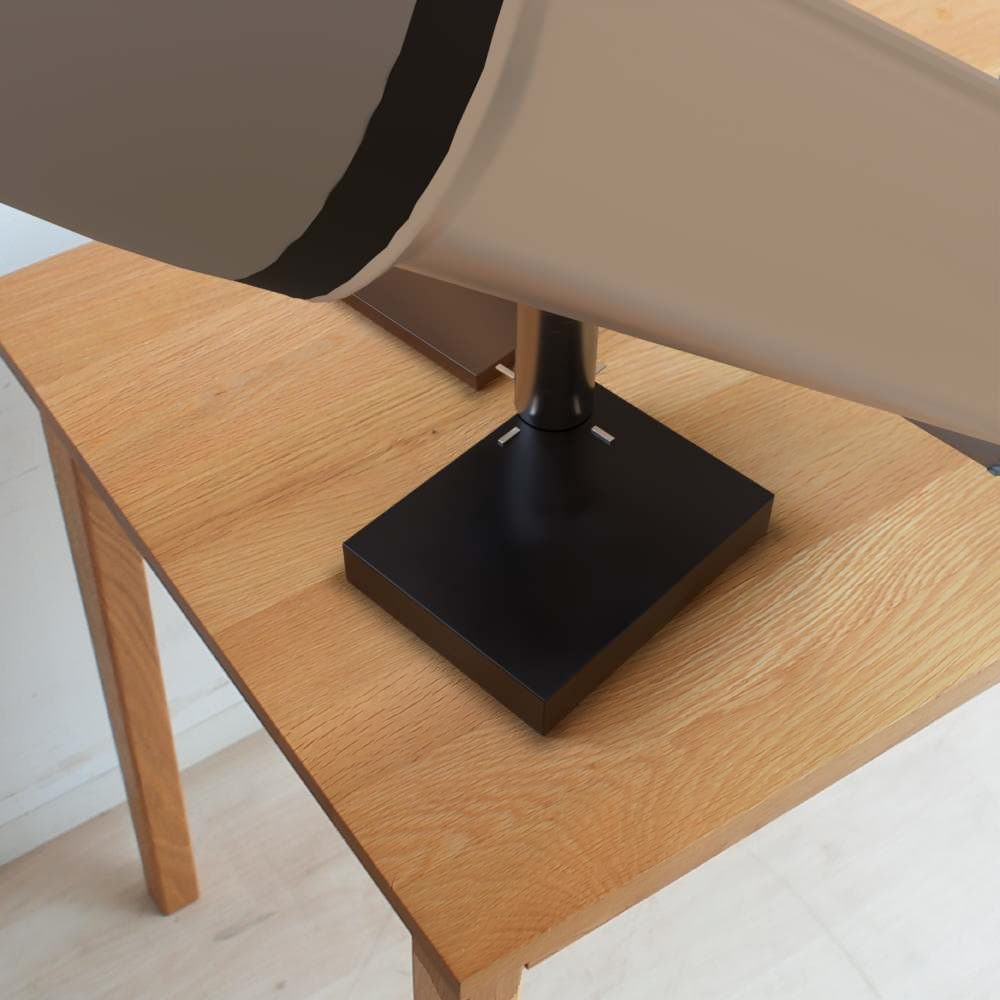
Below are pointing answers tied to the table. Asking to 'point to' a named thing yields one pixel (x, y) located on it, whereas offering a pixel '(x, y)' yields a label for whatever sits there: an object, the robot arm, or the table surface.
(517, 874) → the table surface
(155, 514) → the table surface
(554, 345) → the knob
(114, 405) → the table surface
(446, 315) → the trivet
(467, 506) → the hob
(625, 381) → the table surface
